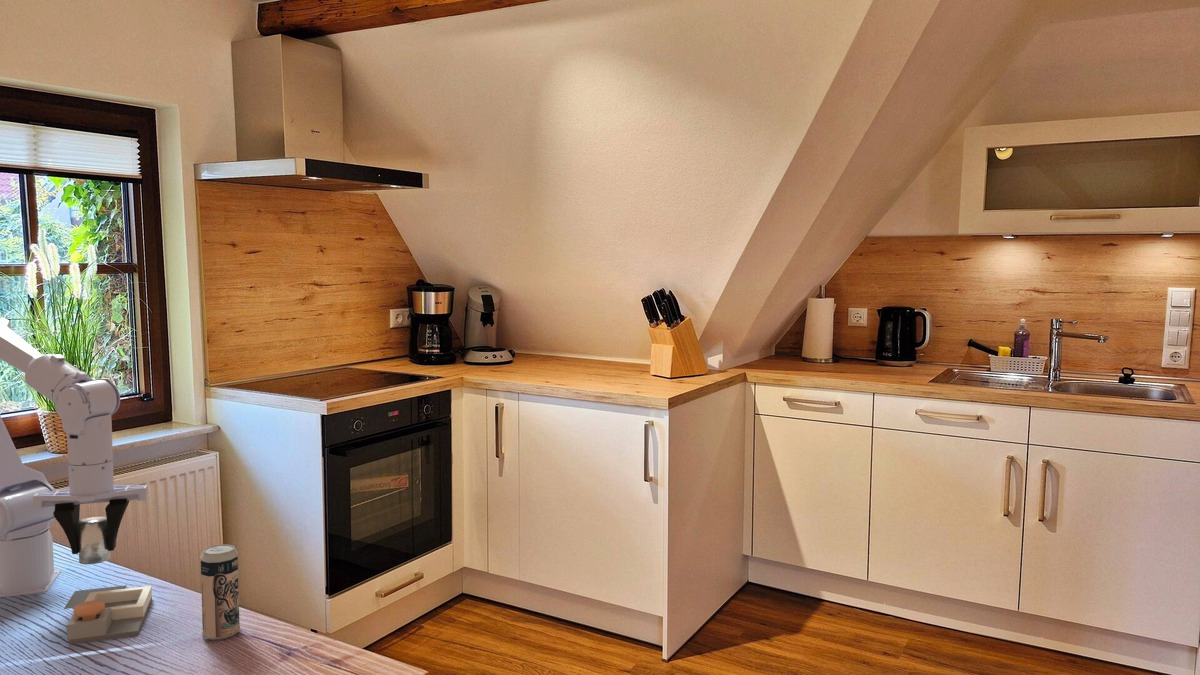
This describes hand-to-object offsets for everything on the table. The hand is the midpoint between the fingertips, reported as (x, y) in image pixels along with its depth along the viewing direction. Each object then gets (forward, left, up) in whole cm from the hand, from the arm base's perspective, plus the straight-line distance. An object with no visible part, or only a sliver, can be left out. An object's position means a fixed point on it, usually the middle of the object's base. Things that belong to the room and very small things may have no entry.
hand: (94, 550), depth 126 cm
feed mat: (0, 0, -8) cm, 8 cm away
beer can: (+20, +19, -8) cm, 28 cm away
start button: (+15, +2, -6) cm, 16 cm away
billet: (0, 0, -1) cm, 1 cm away
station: (+11, +4, -8) cm, 14 cm away
